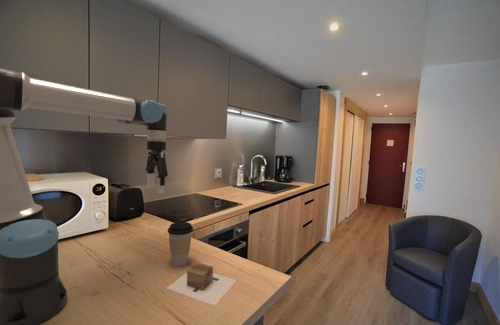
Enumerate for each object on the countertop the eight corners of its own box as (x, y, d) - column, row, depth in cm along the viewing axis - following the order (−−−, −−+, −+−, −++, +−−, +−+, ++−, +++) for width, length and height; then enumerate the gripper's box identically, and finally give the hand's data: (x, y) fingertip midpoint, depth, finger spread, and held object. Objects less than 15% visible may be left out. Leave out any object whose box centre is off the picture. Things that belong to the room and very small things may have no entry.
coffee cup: (166, 270, 84) (166, 230, 83) (168, 258, 93) (168, 221, 92) (192, 267, 87) (193, 228, 86) (192, 256, 96) (192, 220, 95)
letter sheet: (214, 306, 66) (214, 305, 66) (166, 289, 73) (166, 288, 73) (236, 280, 79) (236, 280, 79) (193, 268, 86) (193, 267, 86)
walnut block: (202, 290, 73) (202, 275, 72) (186, 285, 75) (187, 270, 75) (212, 280, 78) (213, 266, 78) (198, 276, 81) (198, 262, 80)
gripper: (177, 141, 91) (175, 194, 92) (155, 141, 110) (155, 185, 111) (157, 140, 86) (156, 196, 87) (138, 140, 105) (138, 186, 106)
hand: (155, 190), depth 99 cm, fingers open, 13 cm apart
